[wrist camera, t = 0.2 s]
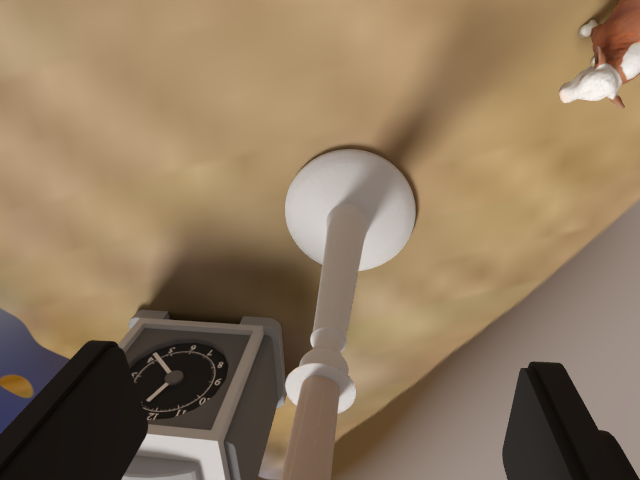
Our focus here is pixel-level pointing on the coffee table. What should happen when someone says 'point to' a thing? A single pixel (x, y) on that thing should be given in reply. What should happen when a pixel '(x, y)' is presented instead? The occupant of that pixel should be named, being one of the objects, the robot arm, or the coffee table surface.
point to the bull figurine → (609, 56)
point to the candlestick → (338, 283)
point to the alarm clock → (204, 395)
